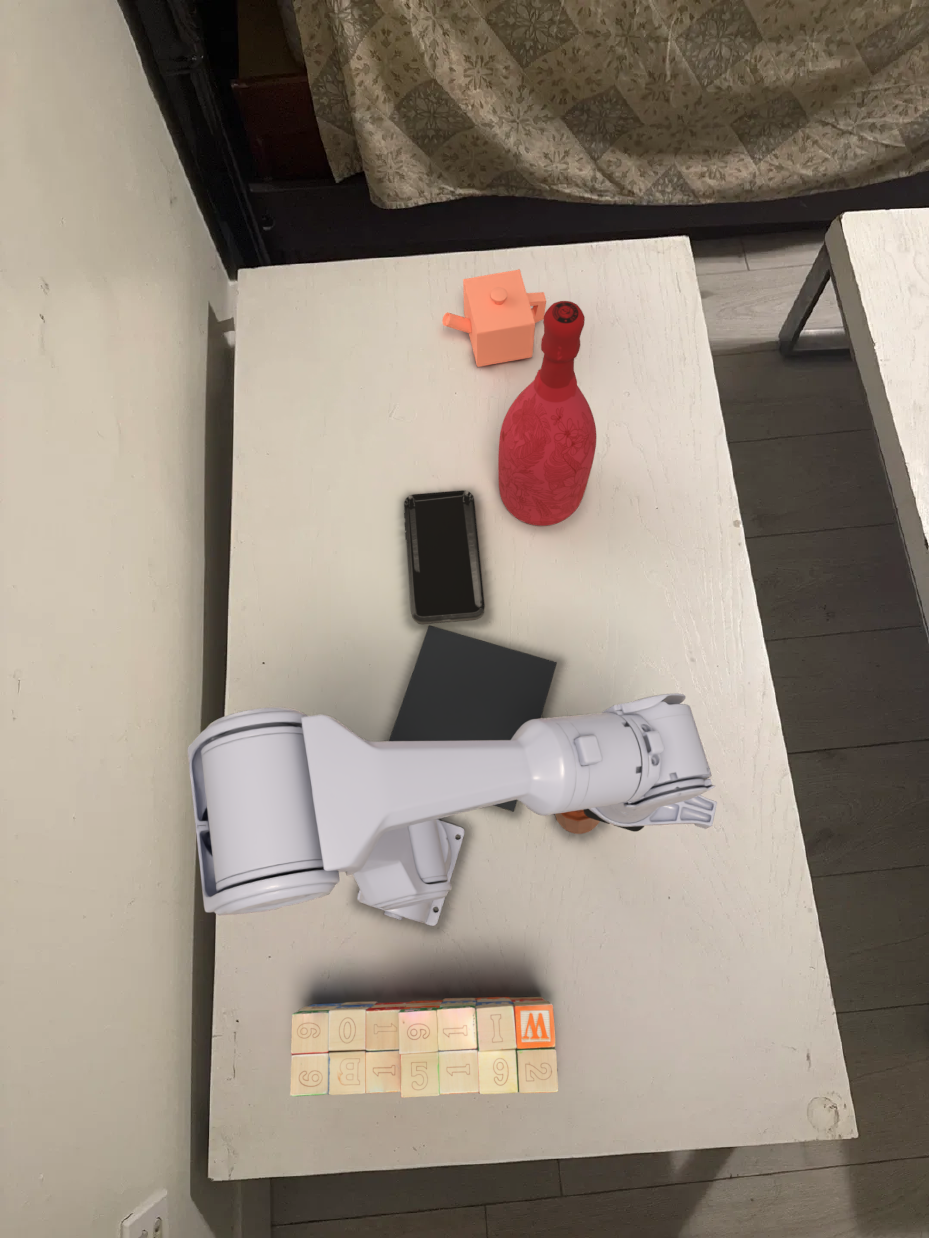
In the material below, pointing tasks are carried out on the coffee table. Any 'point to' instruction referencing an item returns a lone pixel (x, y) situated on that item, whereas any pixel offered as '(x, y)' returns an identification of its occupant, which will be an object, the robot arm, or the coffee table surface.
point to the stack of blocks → (425, 1047)
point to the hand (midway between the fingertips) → (608, 803)
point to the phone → (443, 557)
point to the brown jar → (576, 822)
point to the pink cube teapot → (499, 317)
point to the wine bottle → (549, 430)
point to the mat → (471, 692)
